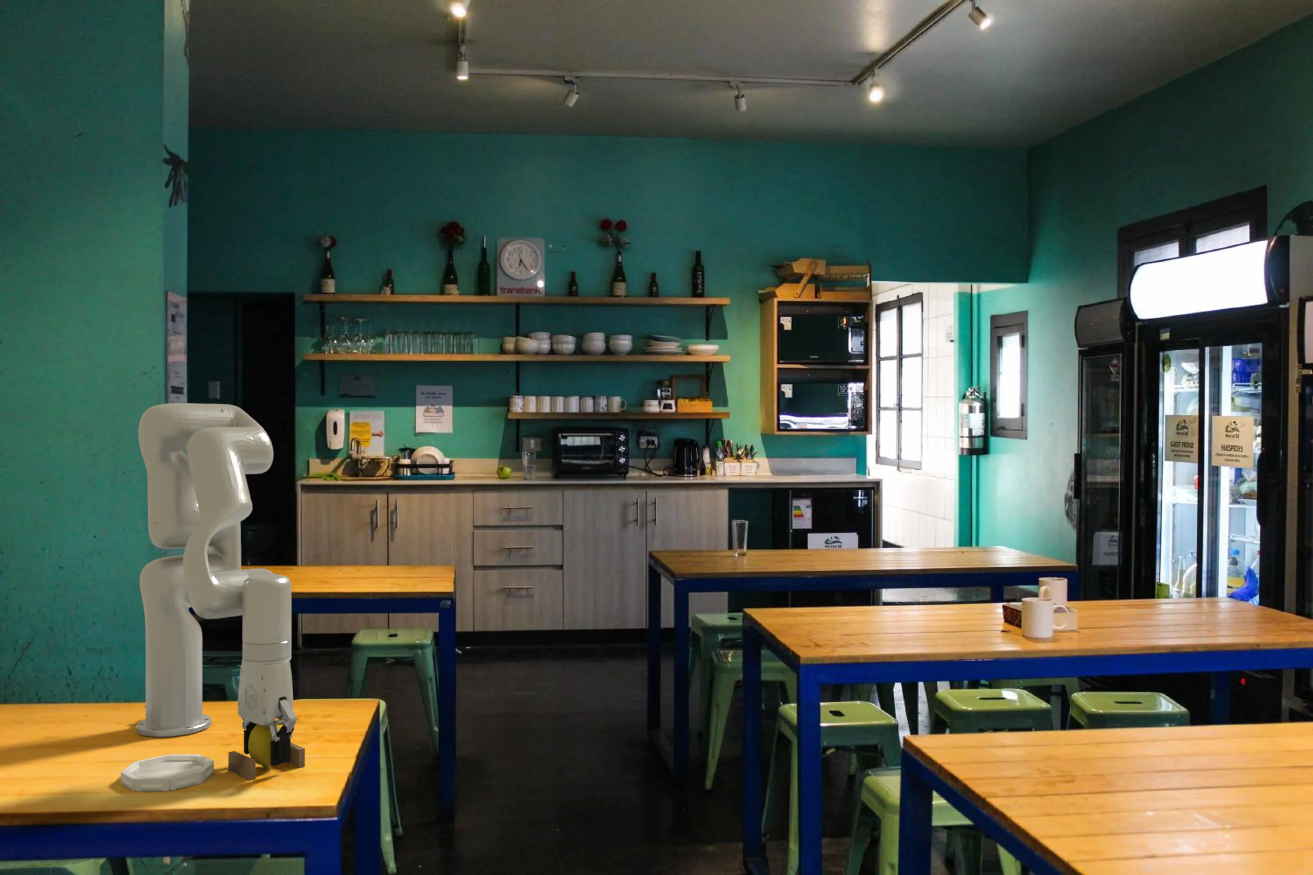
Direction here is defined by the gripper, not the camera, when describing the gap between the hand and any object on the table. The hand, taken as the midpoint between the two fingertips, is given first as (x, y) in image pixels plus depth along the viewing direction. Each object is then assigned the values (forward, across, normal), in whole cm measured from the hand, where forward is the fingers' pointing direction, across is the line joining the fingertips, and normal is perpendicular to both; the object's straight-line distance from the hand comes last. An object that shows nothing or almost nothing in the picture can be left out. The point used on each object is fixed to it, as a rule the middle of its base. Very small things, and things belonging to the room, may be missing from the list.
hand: (266, 757), depth 179 cm
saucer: (+2, -7, -13) cm, 15 cm away
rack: (+2, 0, 0) cm, 2 cm away
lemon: (+2, 0, 0) cm, 2 cm away
